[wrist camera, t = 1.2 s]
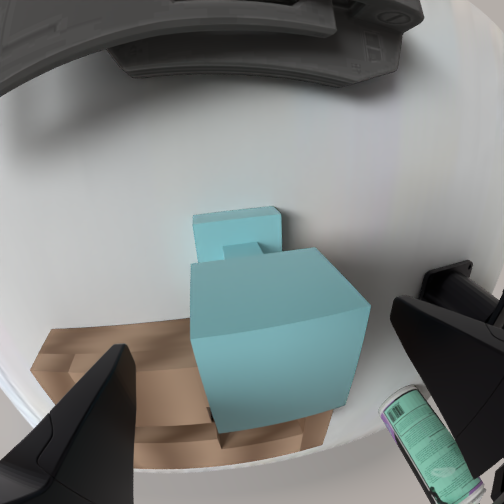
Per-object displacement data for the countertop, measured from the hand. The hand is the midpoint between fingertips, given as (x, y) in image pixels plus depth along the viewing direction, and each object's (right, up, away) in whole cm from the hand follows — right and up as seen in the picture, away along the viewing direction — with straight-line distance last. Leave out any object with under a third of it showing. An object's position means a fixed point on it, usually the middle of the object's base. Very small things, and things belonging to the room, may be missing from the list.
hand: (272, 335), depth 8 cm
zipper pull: (-6, +14, +1) cm, 15 cm away
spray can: (+17, -15, +18) cm, 29 cm away
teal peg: (-1, +3, +6) cm, 7 cm away
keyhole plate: (-5, -7, +10) cm, 13 cm away
